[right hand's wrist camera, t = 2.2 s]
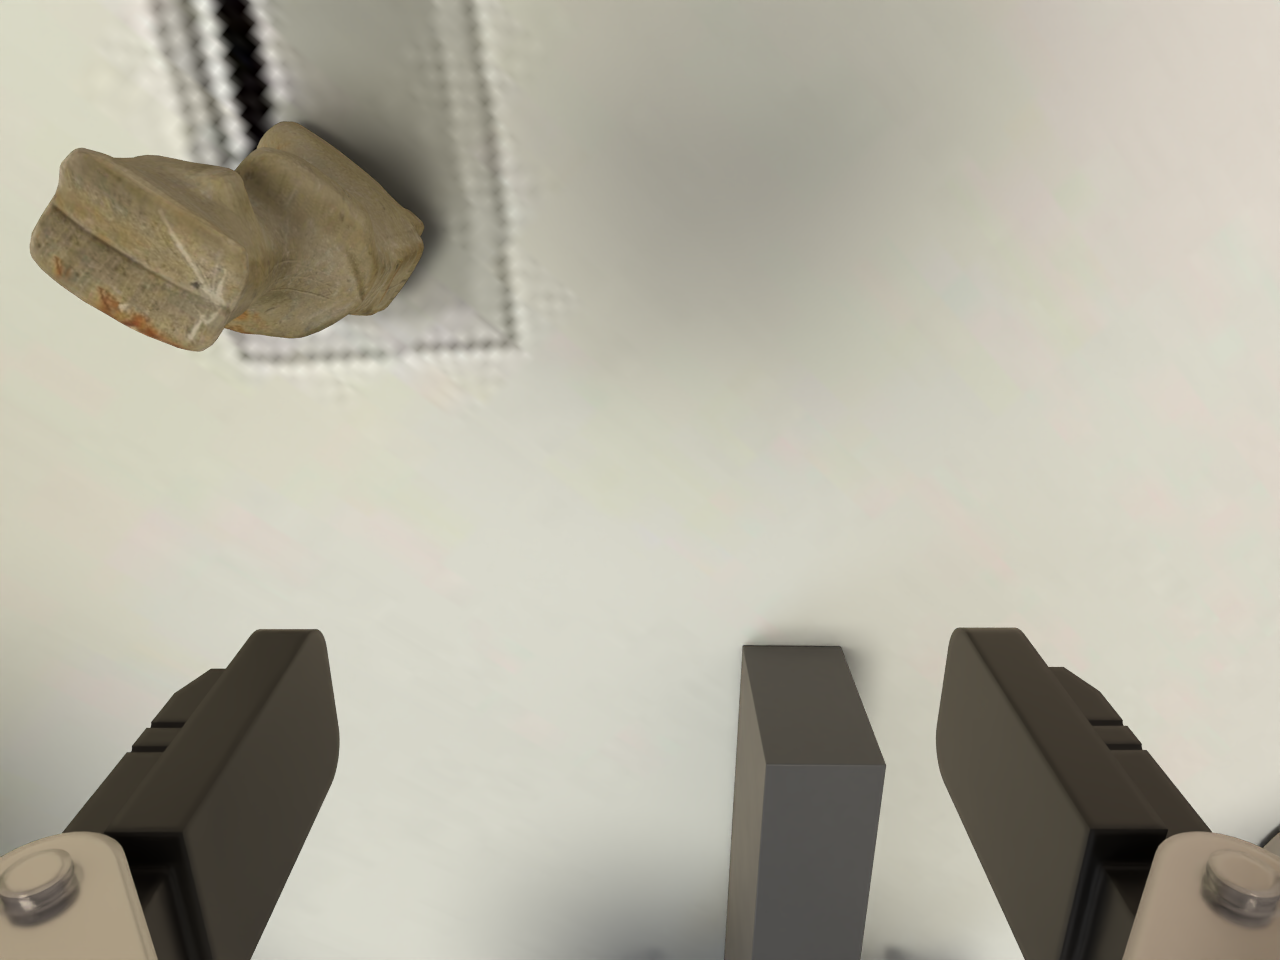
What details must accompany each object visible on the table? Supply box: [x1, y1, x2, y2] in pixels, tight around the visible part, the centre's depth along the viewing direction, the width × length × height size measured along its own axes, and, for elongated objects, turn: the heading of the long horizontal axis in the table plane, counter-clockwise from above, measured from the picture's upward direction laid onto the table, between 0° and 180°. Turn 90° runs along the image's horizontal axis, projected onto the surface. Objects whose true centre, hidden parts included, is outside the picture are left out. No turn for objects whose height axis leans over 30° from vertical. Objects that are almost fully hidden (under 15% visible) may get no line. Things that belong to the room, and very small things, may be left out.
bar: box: [724, 646, 886, 960], centre depth 44 cm, size 24×5×9 cm, turn 179°
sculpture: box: [30, 121, 424, 351], centre depth 29 cm, size 6×7×15 cm
